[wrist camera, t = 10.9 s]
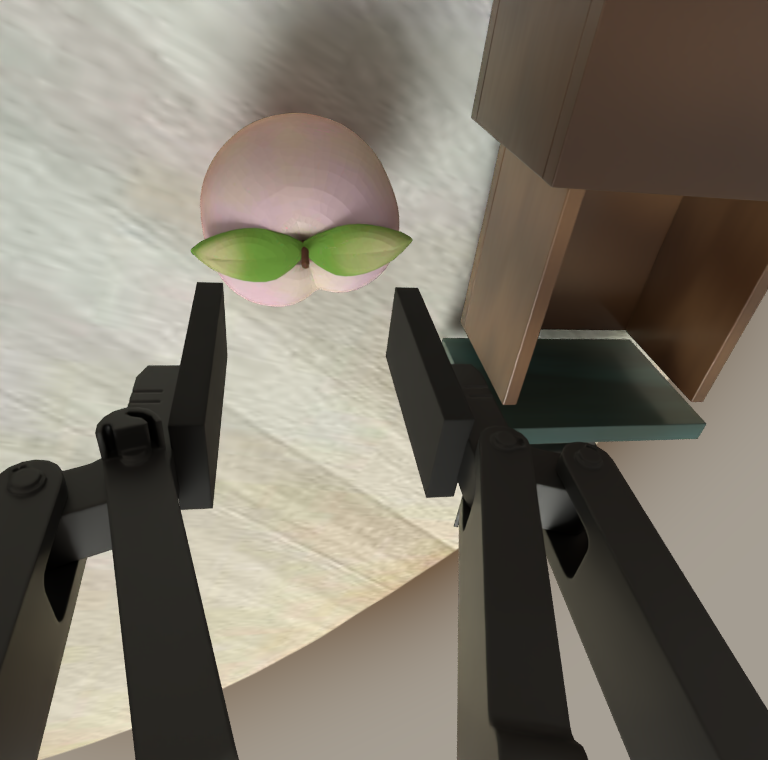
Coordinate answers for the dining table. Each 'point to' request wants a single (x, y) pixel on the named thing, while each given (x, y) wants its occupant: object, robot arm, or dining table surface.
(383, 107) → the dining table surface
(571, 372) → the drawer
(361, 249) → the decorative fruit
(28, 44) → the dining table surface
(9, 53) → the dining table surface
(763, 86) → the cabinet
